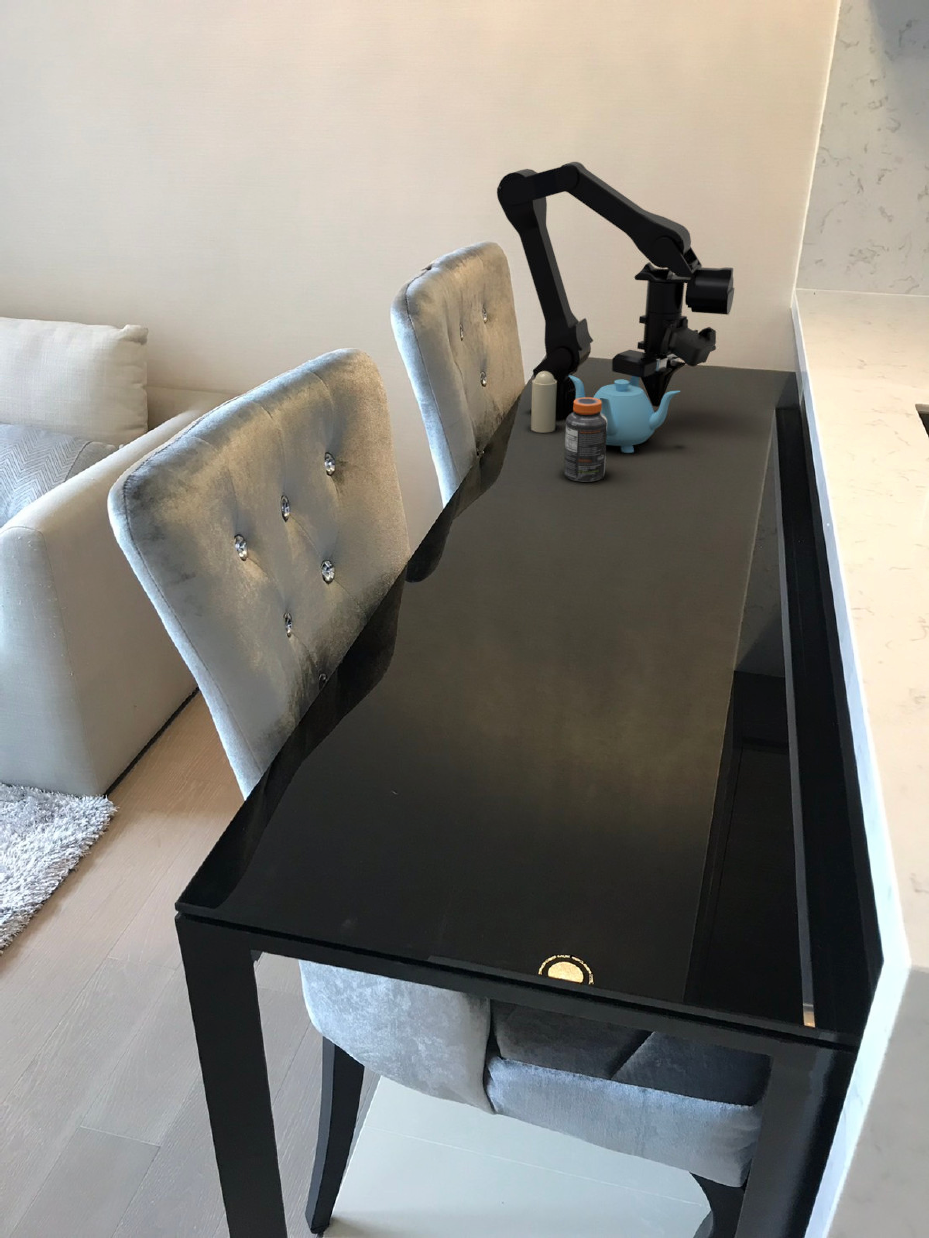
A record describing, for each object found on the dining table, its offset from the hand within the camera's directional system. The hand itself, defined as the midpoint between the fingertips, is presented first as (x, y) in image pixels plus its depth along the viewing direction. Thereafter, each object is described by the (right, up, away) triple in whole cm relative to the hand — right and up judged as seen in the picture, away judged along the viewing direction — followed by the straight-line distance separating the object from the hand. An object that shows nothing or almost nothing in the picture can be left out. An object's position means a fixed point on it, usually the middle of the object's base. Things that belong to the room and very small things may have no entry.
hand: (655, 406), depth 166 cm
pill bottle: (-14, -14, -18) cm, 27 cm away
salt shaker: (-19, -4, 0) cm, 19 cm away
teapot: (-7, -8, -7) cm, 12 cm away
